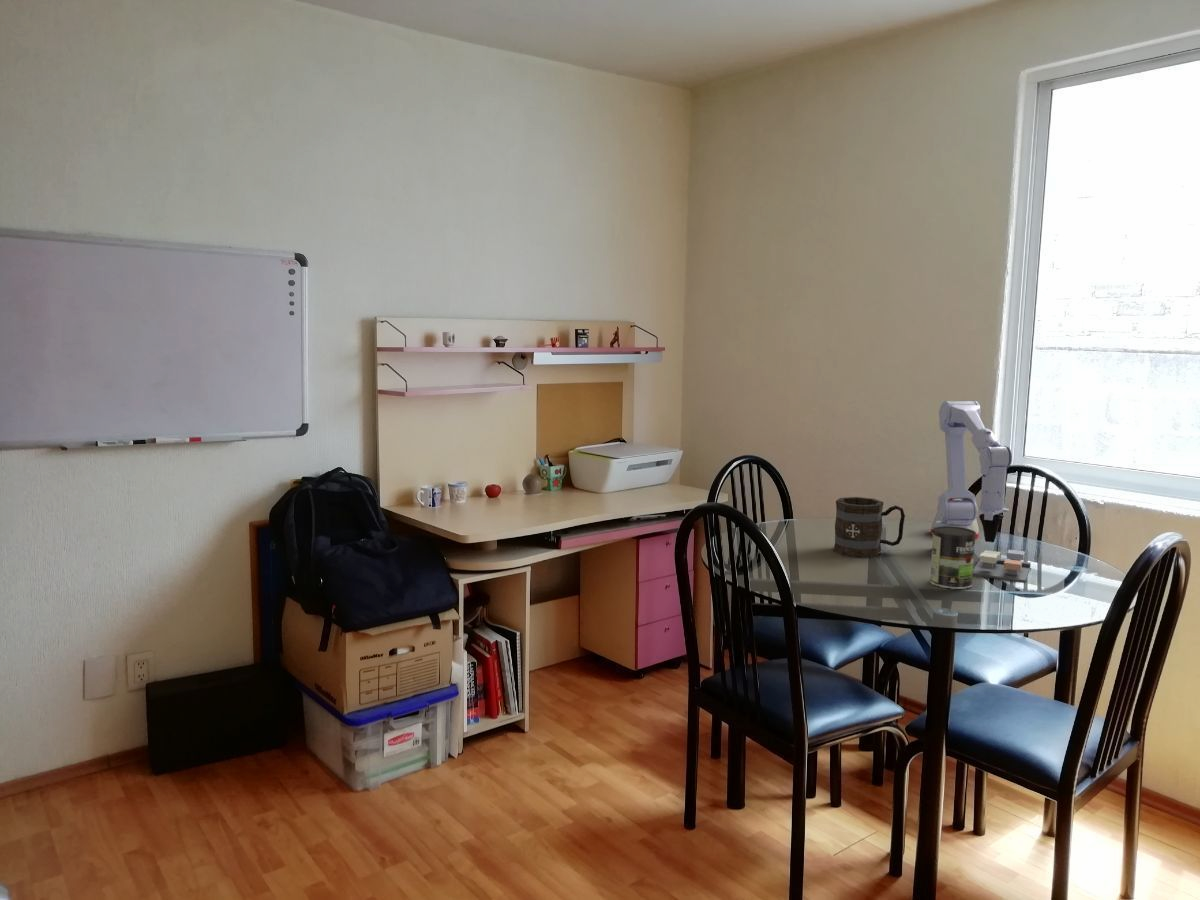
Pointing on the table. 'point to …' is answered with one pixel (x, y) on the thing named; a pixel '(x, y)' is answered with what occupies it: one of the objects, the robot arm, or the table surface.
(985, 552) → the cream white block
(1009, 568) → the terracotta key
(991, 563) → the ivory key
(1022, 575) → the keypad board
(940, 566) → the coffee can
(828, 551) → the table surface
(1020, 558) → the grey square block
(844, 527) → the mug
